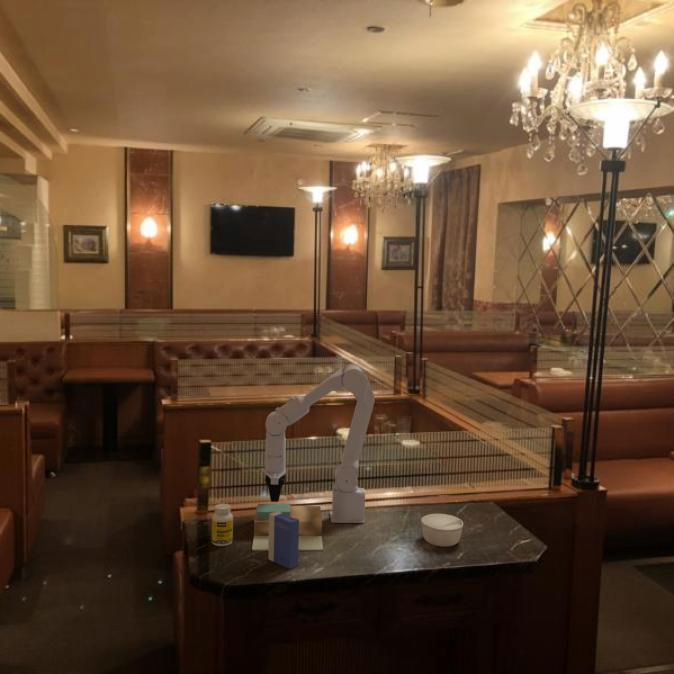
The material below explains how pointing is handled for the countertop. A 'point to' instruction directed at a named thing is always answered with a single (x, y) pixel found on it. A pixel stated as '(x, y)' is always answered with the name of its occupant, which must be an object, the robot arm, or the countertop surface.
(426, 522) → the ramekin
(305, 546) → the mat
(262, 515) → the sage green box
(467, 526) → the countertop surface
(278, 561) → the walkman
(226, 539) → the supplement bottle
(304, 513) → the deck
